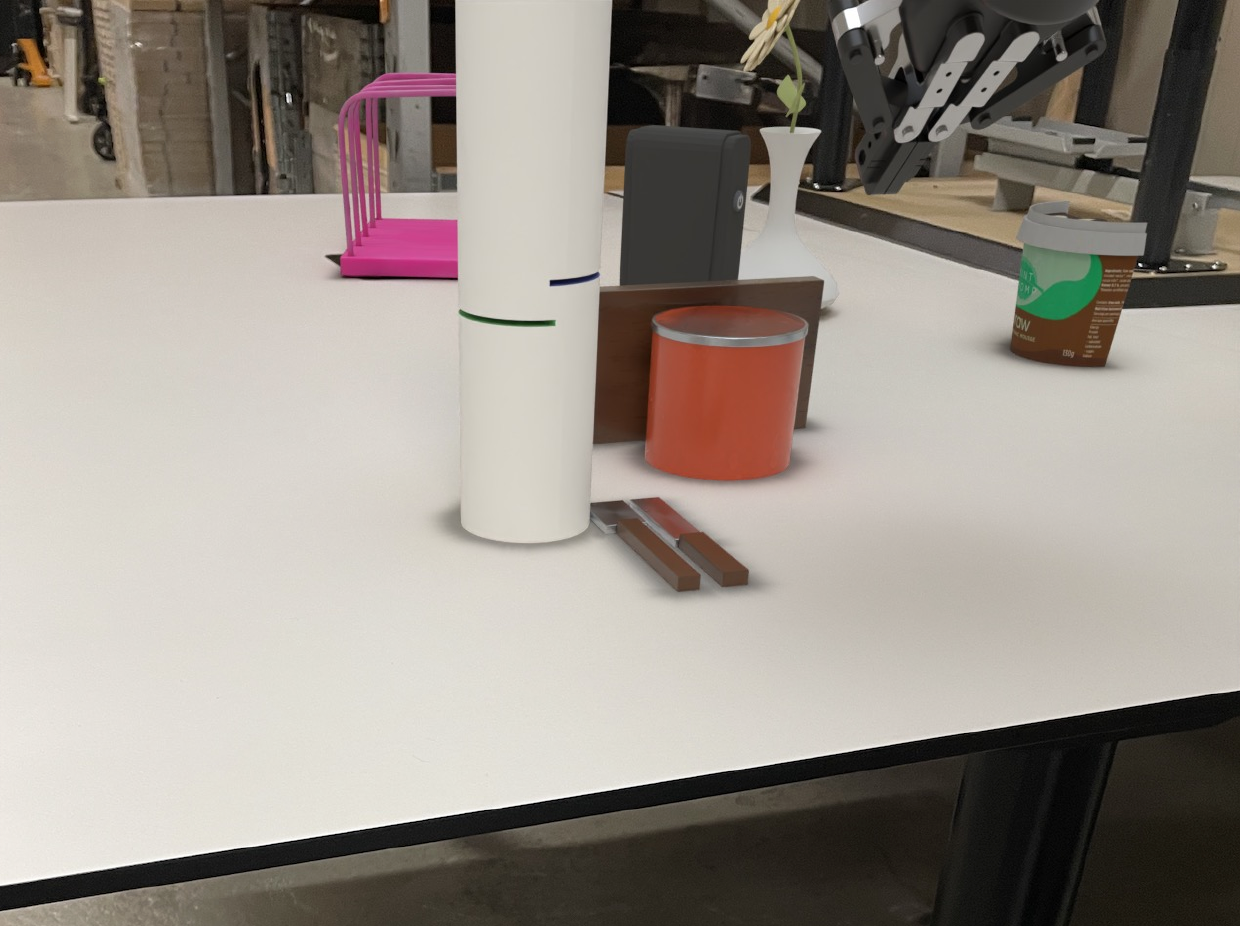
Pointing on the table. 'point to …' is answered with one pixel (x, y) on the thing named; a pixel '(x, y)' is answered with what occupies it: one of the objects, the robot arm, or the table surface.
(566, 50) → the cylindrical container
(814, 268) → the flower in vase
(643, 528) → the cutlery
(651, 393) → the tin can
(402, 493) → the table surface
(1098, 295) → the food container
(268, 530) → the table surface
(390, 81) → the file sorter
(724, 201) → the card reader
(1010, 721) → the table surface
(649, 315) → the wooden board
